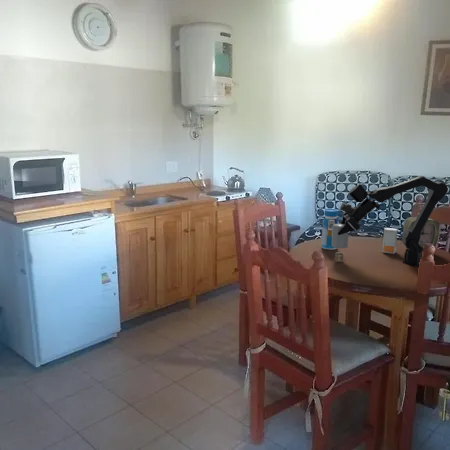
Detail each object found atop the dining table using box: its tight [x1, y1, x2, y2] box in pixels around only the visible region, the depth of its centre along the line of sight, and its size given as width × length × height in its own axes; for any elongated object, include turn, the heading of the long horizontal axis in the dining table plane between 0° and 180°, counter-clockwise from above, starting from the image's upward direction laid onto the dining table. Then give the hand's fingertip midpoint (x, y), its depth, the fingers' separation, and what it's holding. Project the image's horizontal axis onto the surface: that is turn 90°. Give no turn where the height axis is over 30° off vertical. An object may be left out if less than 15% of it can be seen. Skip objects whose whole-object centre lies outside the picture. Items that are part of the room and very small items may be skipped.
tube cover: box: [332, 223, 349, 249], centre depth 215 cm, size 7×7×10 cm
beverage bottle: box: [321, 208, 340, 251], centre depth 237 cm, size 8×8×20 cm
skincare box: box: [381, 227, 399, 255], centre depth 231 cm, size 6×4×12 cm
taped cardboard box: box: [334, 251, 344, 263], centre depth 216 cm, size 4×4×4 cm
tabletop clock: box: [402, 203, 440, 248], centre depth 229 cm, size 14×9×25 cm, turn 92°
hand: (337, 232), depth 215 cm, fingers closed on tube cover, 7 cm apart
